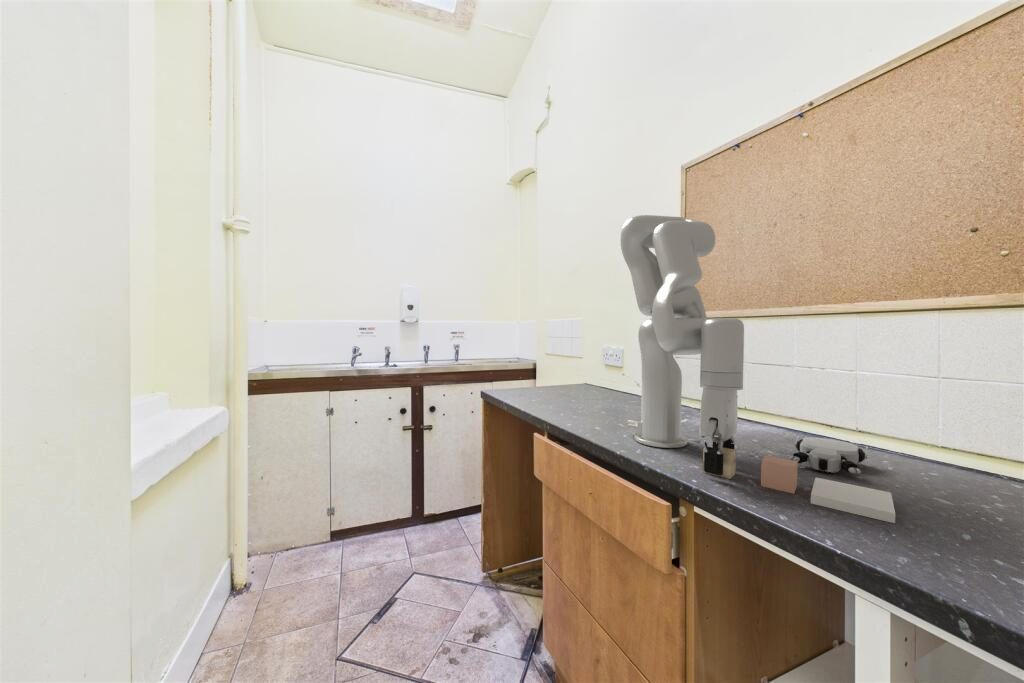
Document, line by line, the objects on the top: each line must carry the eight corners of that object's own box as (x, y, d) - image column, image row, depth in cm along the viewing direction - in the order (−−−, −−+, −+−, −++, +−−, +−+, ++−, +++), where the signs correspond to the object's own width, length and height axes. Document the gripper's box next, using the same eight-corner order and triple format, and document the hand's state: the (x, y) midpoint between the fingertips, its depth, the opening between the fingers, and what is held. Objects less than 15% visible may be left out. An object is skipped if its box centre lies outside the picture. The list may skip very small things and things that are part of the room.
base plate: (810, 503, 65) (810, 494, 65) (815, 485, 72) (815, 477, 72) (895, 523, 58) (895, 513, 58) (890, 501, 66) (891, 492, 66)
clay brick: (760, 486, 72) (761, 460, 72) (764, 480, 75) (765, 455, 75) (794, 494, 69) (795, 466, 69) (796, 487, 72) (797, 461, 72)
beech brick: (702, 472, 79) (703, 449, 78) (708, 467, 82) (708, 444, 81) (730, 479, 75) (731, 454, 75) (735, 473, 78) (735, 449, 78)
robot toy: (863, 488, 73) (867, 463, 84) (864, 465, 73) (868, 442, 84) (785, 471, 82) (797, 450, 93) (785, 450, 82) (798, 432, 92)
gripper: (712, 375, 87) (711, 453, 87) (687, 383, 74) (685, 474, 74) (751, 378, 82) (750, 460, 82) (731, 386, 69) (730, 485, 69)
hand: (719, 467), depth 78 cm, fingers open, 8 cm apart
